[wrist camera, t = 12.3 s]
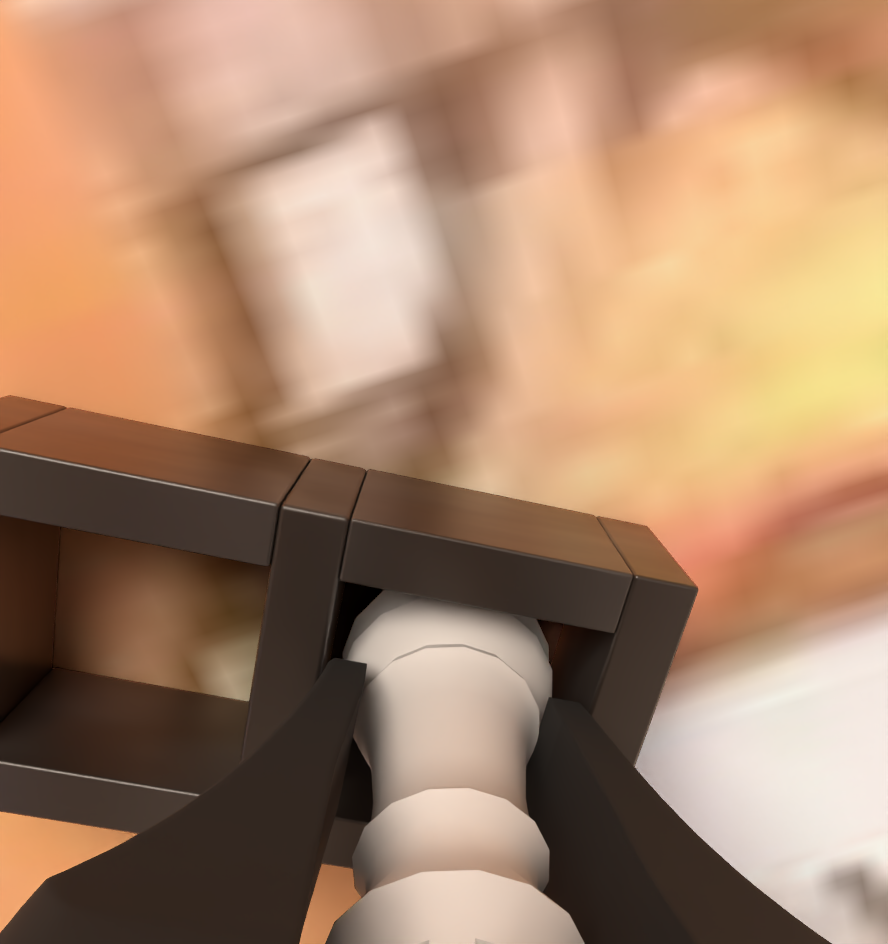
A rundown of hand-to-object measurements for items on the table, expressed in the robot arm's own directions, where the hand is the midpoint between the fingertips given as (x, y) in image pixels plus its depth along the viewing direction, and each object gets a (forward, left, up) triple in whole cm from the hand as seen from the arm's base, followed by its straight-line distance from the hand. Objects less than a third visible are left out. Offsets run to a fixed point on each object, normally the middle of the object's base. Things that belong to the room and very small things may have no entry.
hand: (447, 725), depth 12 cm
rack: (0, +3, -3) cm, 4 cm away
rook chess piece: (0, 0, -3) cm, 3 cm away
